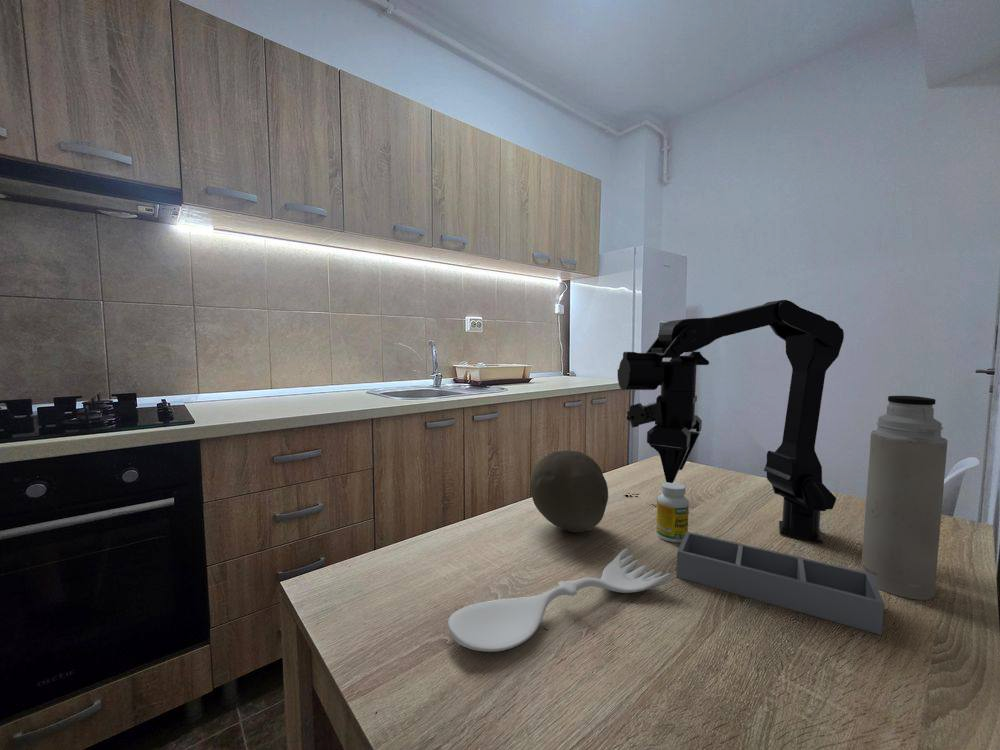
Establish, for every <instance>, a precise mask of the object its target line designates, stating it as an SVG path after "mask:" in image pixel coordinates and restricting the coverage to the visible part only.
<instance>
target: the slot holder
mask: <svg viewBox="0 0 1000 750" xmlns="http://www.w3.org/2000/svg"><path fill="white" fill-rule="evenodd" d="M676 551H677V554H676V555H677V557H676V578H679V579H681V580H682V579H683V580H685V581H689V582H693V583H697V584H701V585H702V586H703V585H704V586H707V587H710V588H714V589H718V590H722V591H725V592H727V593H732V594H734V595H738V596H741V597H746V598H750V599H753V600H756V601H758V602H759V601H760V602H763V603H768V604H770V605H773V606H778V607H781V608H785V609H788V610H791V611H794V612H795V611H796V612H799V613H803V614H805V615H810V616H813V617H816V618H820V619H823V620H827V621H829V622H830V621H831V622H833V623H838V624H841V625H844V626H848V627H852V628H854V629H859V630H862V631H865V632H869V633H873V634H876V635H880V636H883V635H882V634H883V623H884V622H883V621H884V612H885V611H884V610H885V608H884V607H885V603H884V600H883V598H882V595H881V592H879V588H877V587H876V584H875V582H874V580H873V578H872V575H871V573H867V572H863V571H861V570H858V569H853V568H850V567H849V568H848V567H845V566H840V565H837V564H832V563H827V562H823V561H818V560H815V559H814V560H813V559H809V558H805V557H800V556H796V555H792V554H788V553H783V552H778V551H773V550H771V549H766V548H761V547H757V546H753V545H748V544H743V543H740V542H735V541H731V540H725V539H721V538H717V537H712V536H709V535H708V536H707V535H703V534H700V533H694V532H690V531H688V532H686V534H685V536H684V538H683V540H682V542H680V545H679V548H678V549H677V550H676Z"/></svg>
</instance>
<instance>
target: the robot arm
mask: <svg viewBox="0 0 1000 750" xmlns="http://www.w3.org/2000/svg"><path fill="white" fill-rule="evenodd" d="M767 326H769V327H770V329H771V330H772V331H773V333H774V334H775V335H776V336H777V337H779V339H782V341H784V342H785V354H786V356H787V359H788V361H789V363H790V365H791V369H792V370H791V379H790V385H789V391H788V392H789V393H788V397H787V398H788V400H787V405H786V413H785V420H784V427H783V433H782V434H783V435H782V440H781V441H782V442H781V444H780V445H779V446H778V448H777V449H776V450H775V451H772V450H768V451H767V452H766V464H765V467H764V468H763V471H764V472H766V479H767V481H768V482H769V483H770V484H771V486H772V489H773V490H772V491H773V493H774V494H775V495H778V496H781V497H783V502H782V503H783V505H782V518H781V519H782V520H779V521H778V527H779V534H780V535H781V536H786V537H790V538H796V539H800V540H805V541H809V542H815V543H818V544H819V543H820V544H823V543H824V537H823V533H822V531H821V528H820V527H821V512H826V511H828V510H833V508H834V506H835V504H836V502H837V498H836V496H835V495H834V494H833V493H832V492H831V491H830V489H828V488H827V486H826V485H825V484H824V483H823V467H822V464H821V462H820V459H819V457H818V455H817V453H816V448H815V446H816V440H817V433H818V426H819V421H820V413H821V407H822V398H823V392H824V387H825V386H824V385H825V378H826V374H827V371H828V370H829V368H830V367H831V366H832V365H833V363H834V362H835V361H836V360H837V358H839V355H840V352H841V348H842V346H843V343H844V339H845V337H844V336H845V333H844V329H843V328H842V327H840V325H839V324H838V323H837V322H836V321H833V320H831V319H827V318H825V316H822V315H820V314H818V313H816V312H812V311H811V310H809V309H805V308H803V307H800V306H799V305H798V304H796V303H795V302H793V301H791V300H788V299H781V300H774V301H773V300H772V301H767V302H765V303H763V304H761V305H756V306H753V307H748V308H744V309H740V310H737V311H731V312H728V313H723V314H721V315H720V314H719V315H717V316H712V317H698V318H697V317H696V318H683V319H675V320H669V321H667V322H666V321H665V322H664V323H663V324H662V325H661V327H660V328H659V330H658V334H657V338H656V339H655V341H654V342H653V343H652V344H651V345H650V347H649V348H648V350H647V351H646V352H635V351H624V352H623V353H622V359H621V360H620V362H619V366H618V369H617V382H618V386H619V388H620V389H621V390H622V391H655V390H657V389H658V387H659V386H660V394H659V395H658V396H657V397H656V400H655V402H653V403H649V404H646V405H643V404H642V403H641V402H639V403H636V404H635V403H634V404H631V405H630V406H629V410H627V411H626V414H627V416H626V420H627V421H629V422H630V425H631V428H637V427H639V426H640V425H644V424H649V423H653V422H654V426H653V427H651V428H650V429H649V430H648V431H647V432H646V444H648V445H649V447H651V448H653V449H654V450H655V451H656V452H658V454H659V458H660V462H661V466H662V470H663V474H664V478H665V481H666V482H668V483H675V479H676V477H677V475H678V473H679V471H682V470H683V469H684V467H685V464H686V463H687V460H688V458H689V456H690V455H691V453H692V450H693V448H694V446H695V445H696V443H697V441H698V438H699V436H700V434H701V431H702V428H703V427H702V424H703V423H702V421H703V420H702V419H701V418H700V417H699V416H698V415H697V414H695V413H696V411H695V409H696V408H695V407H696V402H697V401H698V395H696V390H697V389H696V386H697V384H696V383H697V367H698V366H708V365H710V361H709V360H708V359H707V358H705V356H703V355H702V354H701V352H700V351H697V350H700V349H702V348H704V347H706V346H709V345H710V344H712V343H714V342H715V341H716V340H718V339H721V338H723V337H727V336H731V335H735V334H739V333H743V332H747V331H752V330H756V329H758V328H759V329H760V328H763V327H767ZM684 353H689V355H683V354H684ZM663 359H670V360H666V361H663ZM693 430H695V431H693ZM666 482H665V483H666Z"/></svg>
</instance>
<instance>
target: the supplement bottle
mask: <svg viewBox="0 0 1000 750" xmlns="http://www.w3.org/2000/svg"><path fill="white" fill-rule="evenodd" d="M660 490H661V494H659V495H658V496H657V505H656V506H657V508H656V535H657V537H658V538H660V539H661V540H663V541H667V542H669V543H682V540H683V538H684V536H685V534H686V532H689V515H690V514H689V512H690V511H689V509H690V505H689V504H690V503H689V499H688V498H687V497H686V496H685V495H686V486H685V485H683V484H681V483H678V482H673V483H668V482H663V483H661V489H660Z"/></svg>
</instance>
